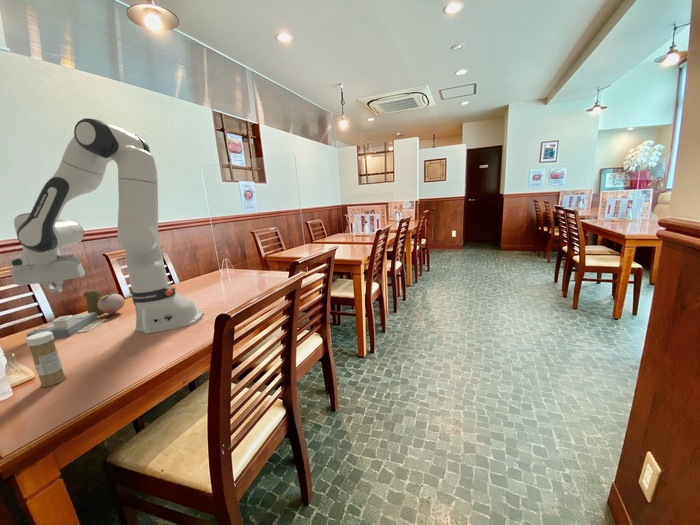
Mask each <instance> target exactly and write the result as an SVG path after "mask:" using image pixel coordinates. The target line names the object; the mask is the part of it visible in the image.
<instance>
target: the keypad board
mask: <svg viewBox="0 0 700 525" xmlns="http://www.w3.org/2000/svg"><path fill="white" fill-rule="evenodd" d="M76 315H78V314H73V316H76ZM96 320H99V316H97V313H96V312H94V313H90V315H89V316H87V317H85V318H83V319H75V321H76V323H75V324H73V325H71V326H70V327H66V328H58V329H55V327H53V328H51V329H49V330H42V331H35V329H34V330H32V331H30V332H28V333H26V338H27V337H29V336H31V335H34V334H37V333H41V332H47V331H49V332H52V334H53V337H54V338H55V339H62V338H69V337H72V336H73V335H75V334H77V332H78V331H80V330H81V329H83V328H84V327H86V326H88V325H89V324H91V323H92V322H94V321H96ZM47 324H53V320H52V321H50V322H47V323H45V324H44V325H47ZM61 337H62V338H61Z"/></svg>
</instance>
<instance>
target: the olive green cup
mask: <svg viewBox="0 0 700 525" xmlns="http://www.w3.org/2000/svg"><path fill="white" fill-rule="evenodd" d="M100 295H101V291H100V290H99V289H95V288H94V289H89V290H85V291H84V292H83V297H84V298H85V299H86V307H87V308H86V309H87V313H94V312H96V313H97V316H98V317H99V316H102V315H104V312H102V311H101V310H100V309H99V308H98V306H97V304H98V301H99V300H100V299H101V297H100Z"/></svg>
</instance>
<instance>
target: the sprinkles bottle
mask: <svg viewBox="0 0 700 525" xmlns="http://www.w3.org/2000/svg"><path fill="white" fill-rule="evenodd" d="M54 340H55V339H54V337H53V334H52V332H49V331H47V332H41V333H37V334H34V335H31V336H29V337H27V336H26V338H25V343H26V345H27V347H28V348H29V351H30V354H31V357H32V361H33V364H34V367H35V371H36V374H37V376H38V379H39V382H40V386H41V387H42V388H46V387H47V388H48V387H52V386H54V385H57V384H59V383H61V382H62V381H64V380H65V379H66V377H67V376H66V375H65V373H64V370H63V365H62V361H61V358H60V355H59V352H58V349H57V347H56V344H55V341H54Z"/></svg>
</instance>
